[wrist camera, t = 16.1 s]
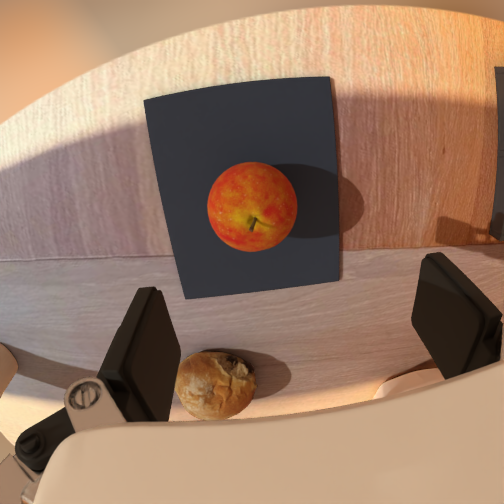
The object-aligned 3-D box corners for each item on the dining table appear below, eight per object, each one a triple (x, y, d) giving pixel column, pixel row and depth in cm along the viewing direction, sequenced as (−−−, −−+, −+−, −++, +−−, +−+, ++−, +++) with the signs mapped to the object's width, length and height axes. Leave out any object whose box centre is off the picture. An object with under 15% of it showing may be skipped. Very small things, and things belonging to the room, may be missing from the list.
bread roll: (180, 334, 39) (145, 378, 33) (249, 340, 34) (217, 396, 28) (209, 382, 43) (182, 424, 37) (272, 392, 38) (249, 442, 32)
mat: (144, 100, 24) (143, 100, 24) (328, 76, 24) (329, 76, 23) (185, 297, 33) (185, 299, 32) (338, 279, 32) (339, 280, 32)
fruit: (255, 139, 26) (260, 151, 18) (305, 198, 28) (328, 231, 21) (195, 192, 27) (179, 223, 20) (247, 245, 30) (249, 291, 23)
